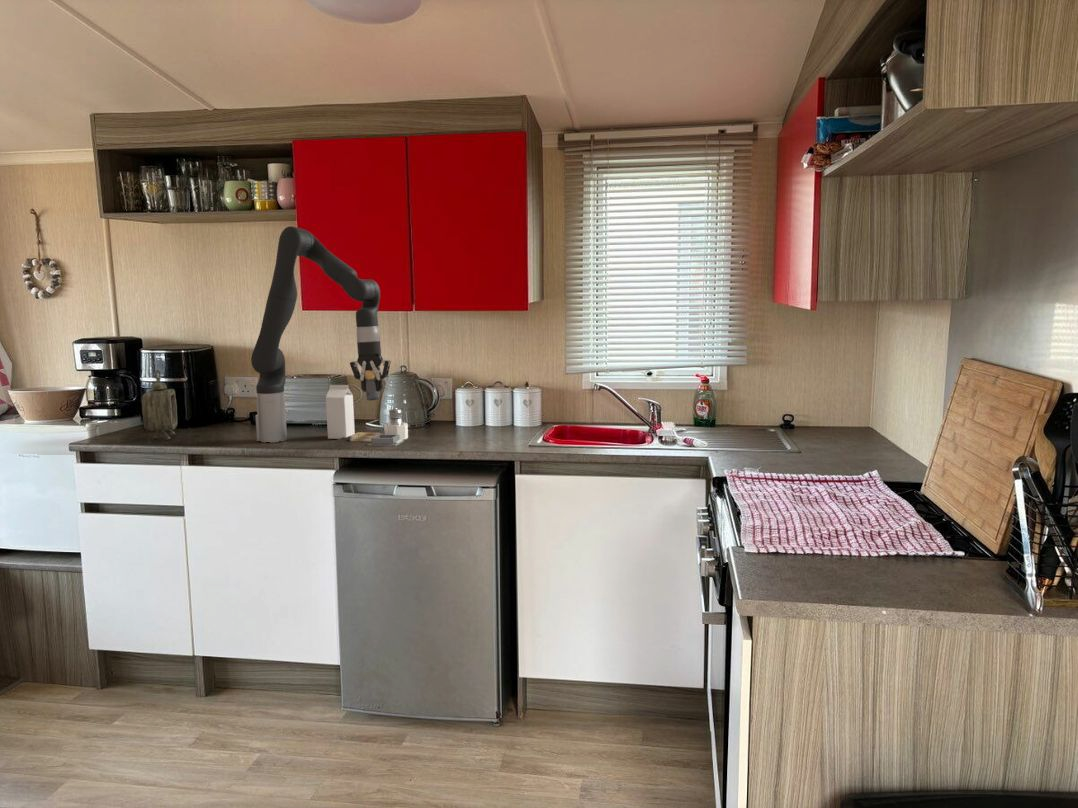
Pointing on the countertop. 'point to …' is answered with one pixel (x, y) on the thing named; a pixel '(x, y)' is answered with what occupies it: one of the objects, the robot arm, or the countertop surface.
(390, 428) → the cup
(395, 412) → the cell
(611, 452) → the countertop surface
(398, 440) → the grey flat block
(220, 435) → the countertop surface
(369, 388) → the cell
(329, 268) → the robot arm
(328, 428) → the milk carton
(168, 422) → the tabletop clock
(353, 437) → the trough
